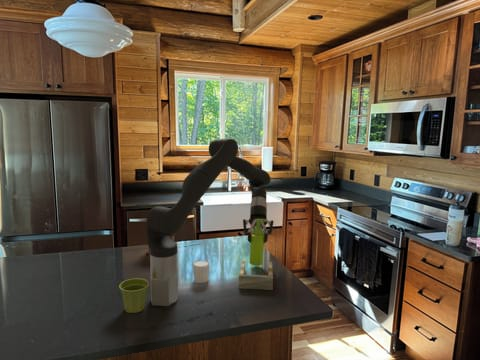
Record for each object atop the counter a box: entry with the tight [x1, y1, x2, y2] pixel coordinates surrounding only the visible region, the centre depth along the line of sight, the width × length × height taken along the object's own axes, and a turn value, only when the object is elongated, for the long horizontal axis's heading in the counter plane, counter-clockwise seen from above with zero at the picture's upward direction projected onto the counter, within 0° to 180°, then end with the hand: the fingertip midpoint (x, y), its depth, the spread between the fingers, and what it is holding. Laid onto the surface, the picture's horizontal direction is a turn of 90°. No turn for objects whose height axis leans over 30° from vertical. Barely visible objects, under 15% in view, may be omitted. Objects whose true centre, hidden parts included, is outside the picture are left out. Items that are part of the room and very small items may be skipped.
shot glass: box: [192, 260, 211, 284], centre depth 134 cm, size 7×7×7 cm
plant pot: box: [118, 277, 150, 314], centre depth 111 cm, size 9×9×9 cm
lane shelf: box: [238, 260, 274, 291], centre depth 136 cm, size 18×13×5 cm
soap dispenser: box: [249, 219, 269, 267], centre depth 146 cm, size 6×7×20 cm
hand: (257, 242), depth 144 cm, fingers closed on soap dispenser, 6 cm apart
